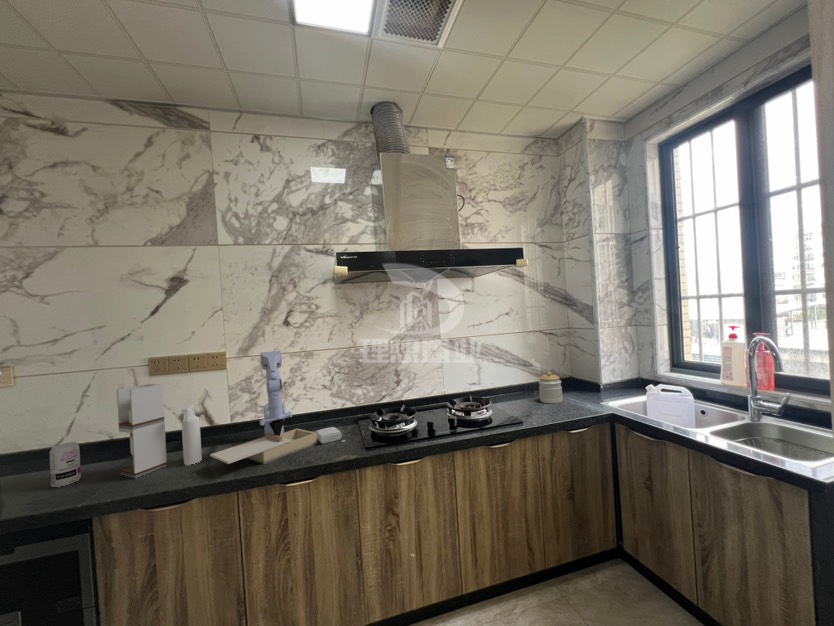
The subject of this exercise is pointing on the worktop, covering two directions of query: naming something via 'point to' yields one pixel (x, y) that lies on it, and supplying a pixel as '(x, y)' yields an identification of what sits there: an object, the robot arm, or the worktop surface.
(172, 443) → the worktop surface
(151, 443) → the white wood-trimmed shelf
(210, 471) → the worktop surface
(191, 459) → the fire extinguisher
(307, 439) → the box
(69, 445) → the supplement can
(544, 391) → the jar
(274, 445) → the sliding box lid
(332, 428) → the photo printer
